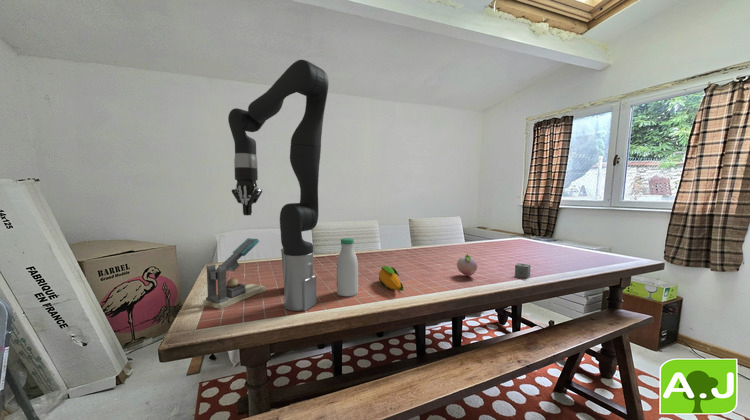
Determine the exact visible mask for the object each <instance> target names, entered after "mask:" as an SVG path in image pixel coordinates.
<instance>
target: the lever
mask: <svg viewBox="0 0 750 420" xmlns="http://www.w3.org/2000/svg"><path fill="white" fill-rule="evenodd" d="M259 243H260V241H259V239H258V238H249V237H248V238H246V239H245V240H244V241H243V242H242V243H241V244H240V245H239V246H237V248H235V249H234V250H233V251H232V254H231V255H230V256H229V257H228V258H227V259H226V260H225V261H224V262H223V263H221V264H220V265H219V266H218V267H217V268H219V267H223V266H226V272H227V271H228V272H234V271H236V270H237V269H238V268H239V267H240V263H238V260H240V259H241V258H242V257H245V256H246V255H247V254H248V253H249V252H250V251H251V250H252V249H254V247H256V246H257V244H259ZM217 268H216V270H214V271H211V272H210V274H211V279H214V280H216V281H218V279H217Z"/></svg>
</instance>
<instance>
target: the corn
mask: <svg viewBox="0 0 750 420" xmlns="http://www.w3.org/2000/svg"><path fill="white" fill-rule="evenodd" d="M399 277H400V275H399V272H398V271H397V270H396V268H394V267H393V266H388V265H384V266H381V270H379V272H378V280H379V282H380V283H381V284H382V285H383V287H384V288H386V289H387V290H394V291H401V292H402V291H404V285H403V283H402V282H401V280H400V279H399Z"/></svg>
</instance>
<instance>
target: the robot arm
mask: <svg viewBox="0 0 750 420" xmlns="http://www.w3.org/2000/svg"><path fill="white" fill-rule="evenodd" d="M328 92H329V76H328V74H327V73H326V71H325V70H324V69H322V68H321V67H319V66H317V65H316V64H315V63H312V62H310V61H308V60H305V59H299V60H298V59H297V60H296V61H294V62H293V63H292V64H291V65H289V67H287V69H286V70H285V71H284V72H283V73H282V74H281V76H280V77H278V79H277V80H276V81H275V82H274V83H273V84H272V86H270V88H269V89H268V90H267V91H265V92H264V93H263V94H261V95H260V96H258V97H257V98H255V99H254V100H253V101H252V102H250V103H249V105H248V107H247V110H244V109H242V108H236V107H235V108H232V109H231V110H230V111H229V113H228V118H227V119H228V120H227V121H228V126H229V129H230V132H231V134H232V135H231V136H232V138H233V142H234V159H233V161H234V163H233V164H234V165H233V166H234V180H235V181H236V185H235V188H234V189H231V193H232V195H233V196H234V199H235V200H236V202H237V203H238V204H241V205H242V213H243V215H244V216H252V213H253V212H252V211H253V210H252V208H253V207H252V205H254V204H256V203H257V202H258V201H259V198H260V196H261V195H262V193H263V189H261V188H259V187H258V184H257V181H258V180H259V179H258V177H259V176H258V175H259V173H258V156H257V142H256V140H255V139H254V138H252V137H250V136H248V134H247V132H248V133H255V132H258V131H259V130H260V129H261V128H262V127H263V125H264V124H265V123H266V121H268V120H269V119H271V118H272V117H274V116H276V115H277V114H278V113H279V112H280V111H281V109H282V107H283V104H284V100H285V99H286V98H287V97H288V96H290V95H293V94H295V93H297V94H300V95H302V96H305V110H304V114H303V117H302V119H301V121H299V124H298V125H297V127H296V128H295V130H294V131H293V134H292V136H291V137H290V149H289V162H290V165H291V168H292V171H293V173H294V175H295V177H296V180H297V182H298V185H299V190H300V195H299V198H300V199H299V202H292V203H291V202H290V203H286V204H284V205H283V206H282V207H281V210H280V213H279V229H280V242H281V246H282V248H283V250H284V279H283V292H284V295H283V296H284V309H286V310H288V311H294V312H296V311H297V312H299V311H304V312H305V311H307V310H309V309H310V308H312V307H314V306H316V305H317V276H316V274H314V244H313V243H312V242H309V241H305V240H304V239H303V235H302V234H303V233H302V232H307V231H312V230H313V229H315V228H316V227H317V224H318V221H319V176H320V175H319V174H320V173H319V172H320V171H319V170H320V163H321V162H320V161H321V151H322V134H323V123H324V115H325V111H326V109H325V108H326V104H327V97H328Z"/></svg>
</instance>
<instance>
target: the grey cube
mask: <svg viewBox="0 0 750 420" xmlns="http://www.w3.org/2000/svg"><path fill="white" fill-rule="evenodd" d="M514 276H515V277H516V278H524V279H529V278H530V277H531V264H526V263H520V262H518V263H516V264H515V265H514Z"/></svg>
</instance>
